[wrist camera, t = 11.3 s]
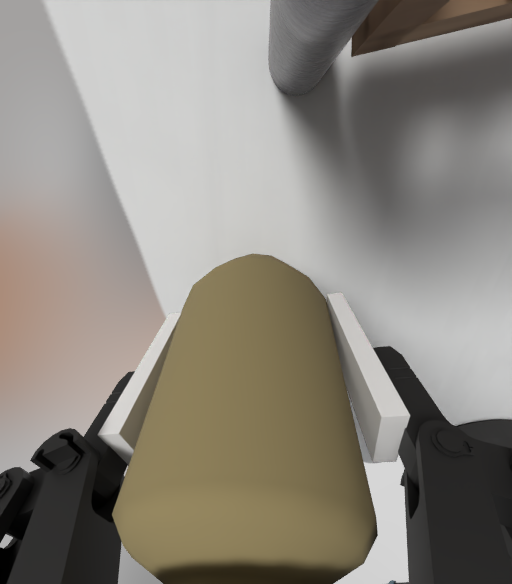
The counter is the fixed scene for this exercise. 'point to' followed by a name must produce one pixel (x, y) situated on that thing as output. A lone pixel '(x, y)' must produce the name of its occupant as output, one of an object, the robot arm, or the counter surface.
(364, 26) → the gate
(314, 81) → the gate post
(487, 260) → the counter surface
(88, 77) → the counter surface
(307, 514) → the squeeze bottle
